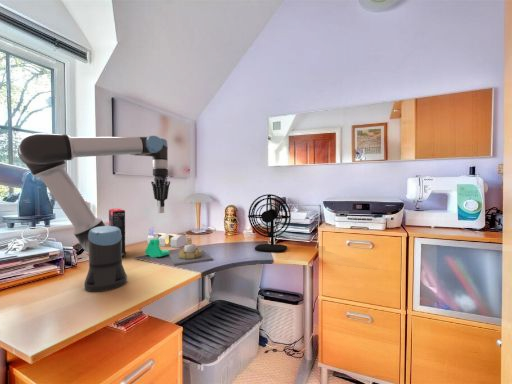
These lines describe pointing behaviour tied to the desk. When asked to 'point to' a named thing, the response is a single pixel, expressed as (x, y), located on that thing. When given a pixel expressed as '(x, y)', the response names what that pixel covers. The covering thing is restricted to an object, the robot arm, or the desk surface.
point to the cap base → (180, 261)
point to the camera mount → (155, 249)
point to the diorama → (168, 239)
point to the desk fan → (270, 217)
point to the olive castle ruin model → (189, 255)
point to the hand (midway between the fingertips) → (161, 212)
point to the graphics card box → (118, 224)
